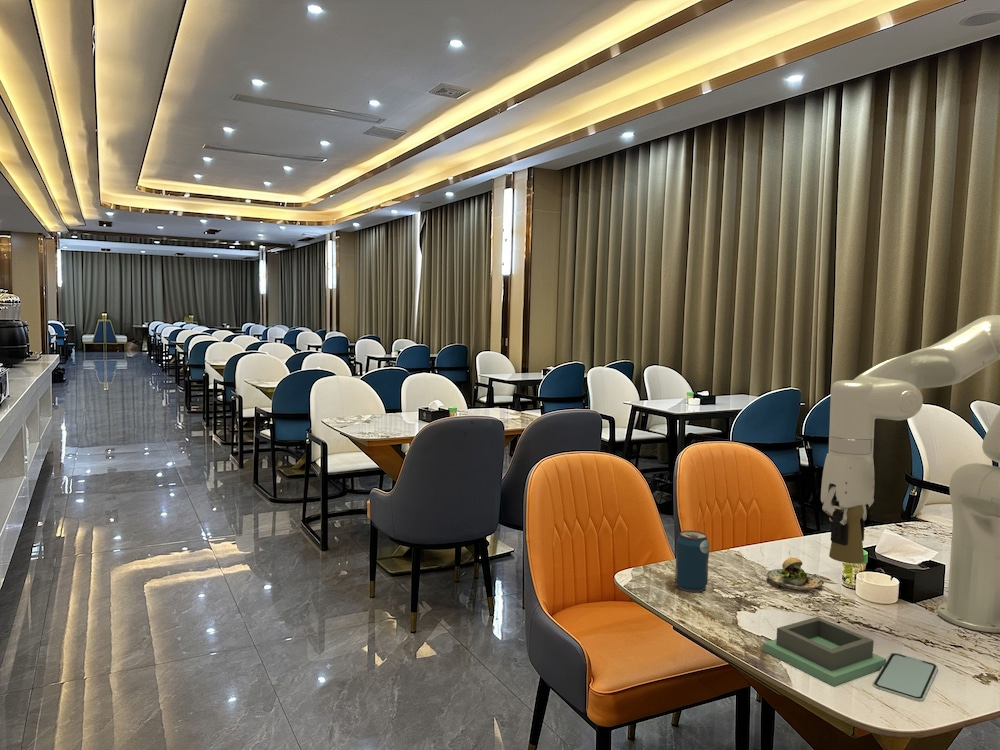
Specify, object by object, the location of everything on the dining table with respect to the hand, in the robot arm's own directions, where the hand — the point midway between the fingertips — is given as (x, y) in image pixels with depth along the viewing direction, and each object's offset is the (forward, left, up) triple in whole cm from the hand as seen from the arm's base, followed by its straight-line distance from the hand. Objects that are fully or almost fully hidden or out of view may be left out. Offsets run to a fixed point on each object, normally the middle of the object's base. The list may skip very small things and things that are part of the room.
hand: (847, 540), depth 135 cm
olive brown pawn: (0, 0, -4) cm, 4 cm away
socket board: (+14, +6, -18) cm, 23 cm away
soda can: (+10, -30, -18) cm, 36 cm away
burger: (-13, -21, -18) cm, 31 cm away
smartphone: (+7, +16, -18) cm, 26 cm away
